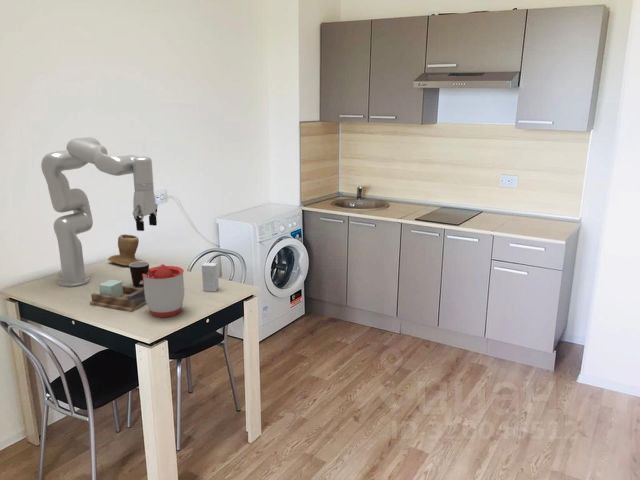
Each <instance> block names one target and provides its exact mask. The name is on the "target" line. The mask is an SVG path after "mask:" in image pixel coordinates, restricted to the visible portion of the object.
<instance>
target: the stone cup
mask: <svg viewBox="0 0 640 480" xmlns="http://www.w3.org/2000/svg"><path fill="white" fill-rule="evenodd" d="M139 243H140V242H139V237H138V236H136V235H132V234H125V233H124V234H120V235H119V236H118V238H117V247H118V252H119V254H114V255H111V256H110V257H108V258H107V260H108V262H112V263H114V264H117V265H122V266H125V267H126V266H129V264H130V263H133V262H139V259H137V258H136V253H137V250H138V247H139Z"/></svg>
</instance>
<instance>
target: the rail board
mask: <svg viewBox="0 0 640 480" xmlns="http://www.w3.org/2000/svg"><path fill="white" fill-rule="evenodd" d="M90 295H91V297H90V298H91V301H90V302H89V306H93V307H101V308H106V309H111V310H117V311H123V312H128V313H129V312H130V313H133V312H135V311H137V310H139V309H140V308H142V307H144V306H147V303H146V299H145V292H144V287H134V286H130V285H129V286H128V285H123V295H122V296H120V297H115V296H109V295H102V294H100V293H95V292H93V293H91V294H90Z"/></svg>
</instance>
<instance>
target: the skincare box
mask: <svg viewBox="0 0 640 480" xmlns="http://www.w3.org/2000/svg"><path fill="white" fill-rule="evenodd" d="M218 270H219V269H218V263H217V262H216V263H215V262H204V263H203V264H202V265H201V275H202V277H201V278H202V291H203V292H217V291H218V290H219V289H220V287H219V271H218Z"/></svg>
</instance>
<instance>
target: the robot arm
mask: <svg viewBox="0 0 640 480" xmlns="http://www.w3.org/2000/svg"><path fill="white" fill-rule="evenodd" d="M87 164H92V165H94V166H95V168H96V169H97V170H98V171H100V172H102V173H105V174H107V175H110V176H115V177H116V176H117V177H119V176H124V175H130V174H132V175H133V186H134V190H133V202H132V203H133V204H132V205H133V211H132V215H133V219H134V221H135V223H136V225H135V226H136V231H137V232H144V231H145V221H144V218H145V217H146V216H148V224H149V225H150V226H152V227H153V226H157V224H158V223H157V222H158V221H157V217H158V214H157V212H158V206H159V205H158V204H157V203H156V196H155V189H154V175H153V161H152V159H151V157H148V156H138V155H134V154H133V155H132V154H128V155H121V156H111V155H108V150H107V148H106V147H105V146H103V145H102V144H101V143H100V141H99V140H98V139H97V138H94V137H92V136H91V137H89V136H88V137H77V138H73V139H72V138H71V140H69V141H68V142H67V144H66V150H59V151H58V150H56V151H52V152H49V153H47V154H45V155H44V156H43V158H42V160H41V163H40V165H41V166H40V168H41V171H42V175H43V177H44V179H45V181H46V184H47V188H48V193H49V194H48V195H49V197H50V198H49V199H50V201H51V204H52V205H51V206H52V208H53V210H54V211H55V212H57V213H59V214H60V213H69V212H72V211H73V213H70V214H64V215H62V216H59V217H57V218H56V219H55V220H54V222H53V230H54V234H55V237H56V240H57V245H58V251H59V260H60V261H59V262H60V268H61V271H58V273H57V274H56V277H58V278H60V280H59V281H58V284H59V286H61V287H65V288H66V287H67V288H70V287H71V288H72V287H73V288H74V287H79V286H83V285H85V284H86V285H87V284H88V283H89V282H90V278H89V276H86V273H85V263H84V254H83V253H84V252H83V245H82V241H81V240H80V239H79V238H78V234H83V233H86V232H89V231H90V230H91V229H92V228H93V223H94V221H93V220H94V219H93V215H92V211H91V205H90V202H89V198H88V195H87V194H86V193H85V192H84V191H83V189H81V188H78V187H77V188H70V182H69V180H68V177H66V175H65V174H64V173H63V171H70V170H71V171H72V170H77V169H81V168H83V167H85V166H86V165H87Z"/></svg>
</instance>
